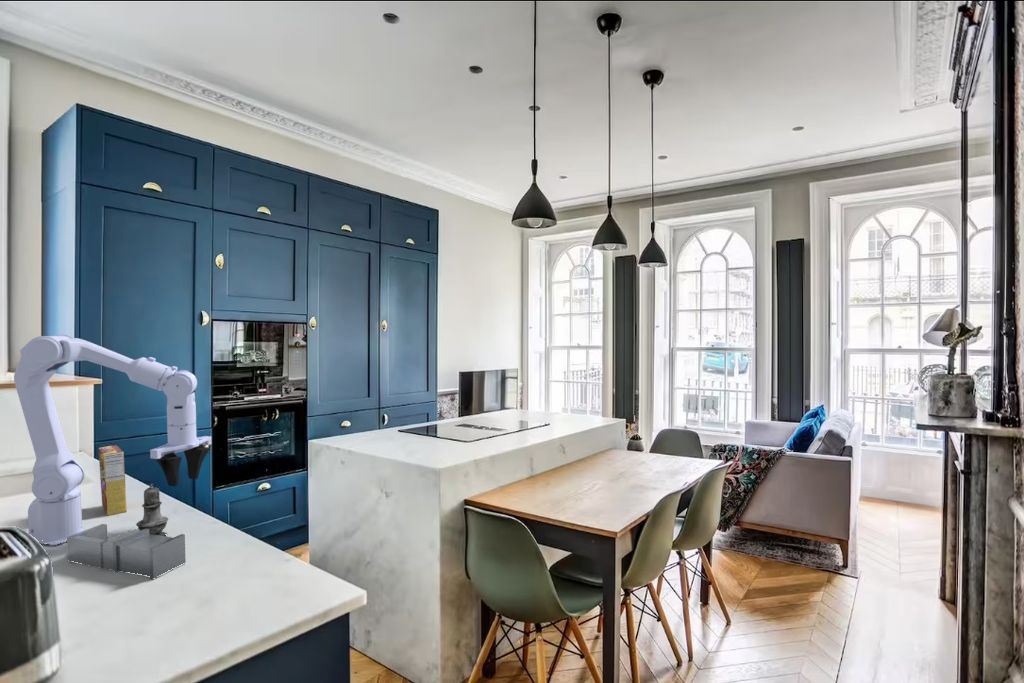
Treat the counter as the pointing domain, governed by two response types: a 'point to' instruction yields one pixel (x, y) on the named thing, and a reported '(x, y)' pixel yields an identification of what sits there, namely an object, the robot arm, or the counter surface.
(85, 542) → the grey divided tray
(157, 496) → the grey tapered rounded piece
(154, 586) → the counter surface
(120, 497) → the candy box
